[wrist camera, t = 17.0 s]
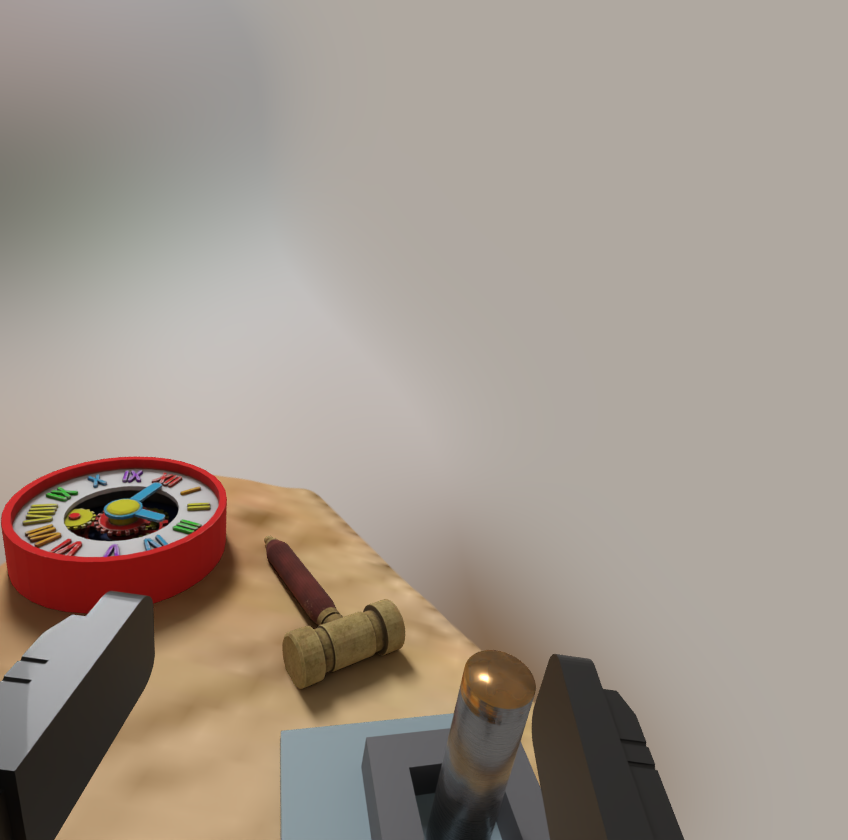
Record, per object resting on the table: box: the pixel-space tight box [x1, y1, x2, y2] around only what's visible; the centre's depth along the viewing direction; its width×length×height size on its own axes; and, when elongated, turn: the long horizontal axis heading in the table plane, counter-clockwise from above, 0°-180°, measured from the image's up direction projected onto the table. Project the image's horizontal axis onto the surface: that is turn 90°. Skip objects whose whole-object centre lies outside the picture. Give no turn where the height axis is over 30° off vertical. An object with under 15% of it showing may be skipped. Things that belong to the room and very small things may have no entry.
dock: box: [280, 713, 550, 840], centre depth 35 cm, size 18×18×4 cm
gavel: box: [264, 536, 405, 689], centre depth 55 cm, size 21×5×10 cm
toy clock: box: [1, 457, 227, 613], centre depth 57 cm, size 20×6×20 cm
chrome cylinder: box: [426, 650, 536, 840], centre depth 33 cm, size 4×4×14 cm
